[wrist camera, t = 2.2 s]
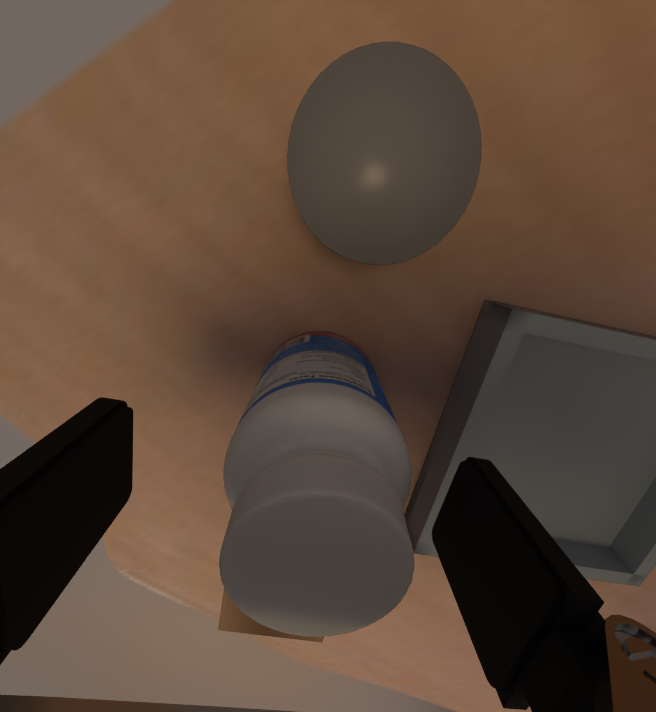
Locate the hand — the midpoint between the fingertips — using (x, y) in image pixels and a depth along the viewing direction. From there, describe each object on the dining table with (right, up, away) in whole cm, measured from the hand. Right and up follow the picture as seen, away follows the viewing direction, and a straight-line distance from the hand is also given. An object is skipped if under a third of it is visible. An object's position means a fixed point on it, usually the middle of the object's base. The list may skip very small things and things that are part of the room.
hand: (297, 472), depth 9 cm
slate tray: (+13, -1, +8) cm, 15 cm away
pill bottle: (0, +2, +7) cm, 7 cm away
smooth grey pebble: (+2, +10, +4) cm, 11 cm away
